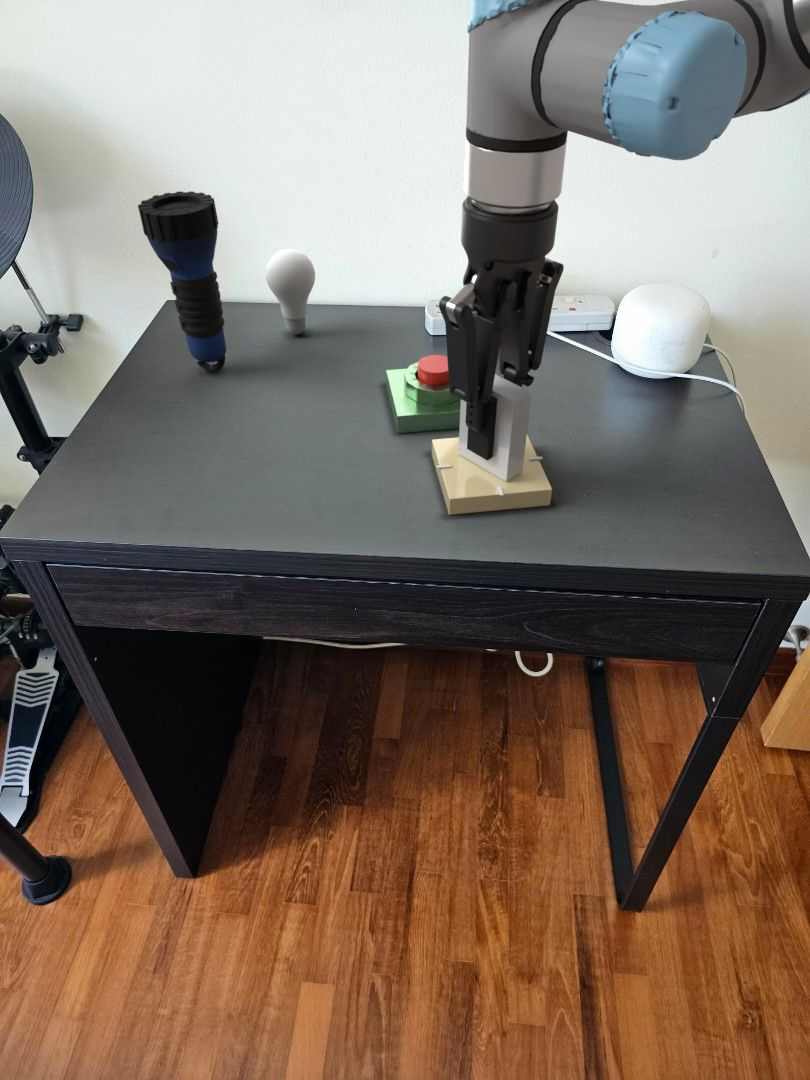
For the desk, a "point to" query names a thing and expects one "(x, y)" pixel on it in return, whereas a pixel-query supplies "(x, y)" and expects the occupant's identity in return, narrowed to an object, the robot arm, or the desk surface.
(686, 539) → the desk surface
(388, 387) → the control block
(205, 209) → the flashlight
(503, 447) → the tap handle
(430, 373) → the stop button
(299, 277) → the lightbulb
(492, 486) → the panel
